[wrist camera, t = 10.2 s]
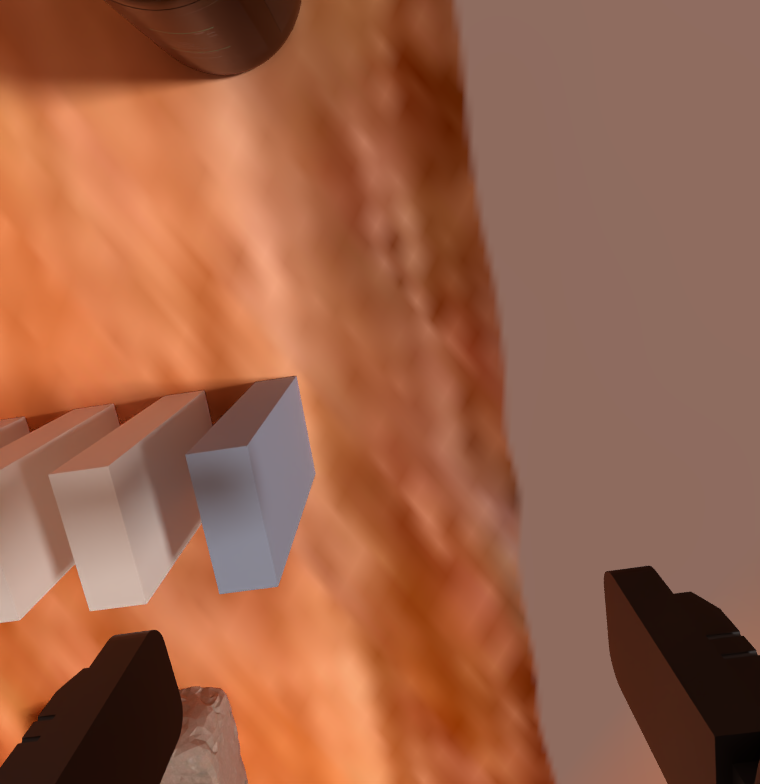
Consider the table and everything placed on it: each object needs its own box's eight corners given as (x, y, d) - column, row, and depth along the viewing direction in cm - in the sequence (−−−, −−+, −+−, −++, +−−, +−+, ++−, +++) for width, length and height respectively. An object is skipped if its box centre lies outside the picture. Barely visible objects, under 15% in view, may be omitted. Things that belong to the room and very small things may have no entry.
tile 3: (139, 498, 30) (19, 620, 21) (101, 503, 30) (-36, 627, 21) (113, 403, 29) (-27, 485, 19) (74, 409, 29) (-85, 493, 20)
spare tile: (315, 473, 30) (277, 586, 20) (275, 479, 30) (219, 594, 20) (296, 375, 29) (246, 445, 19) (255, 382, 29) (185, 454, 19)
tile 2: (226, 486, 30) (146, 604, 20) (187, 491, 30) (89, 610, 20) (204, 390, 29) (108, 465, 19) (164, 396, 29) (48, 474, 19)
